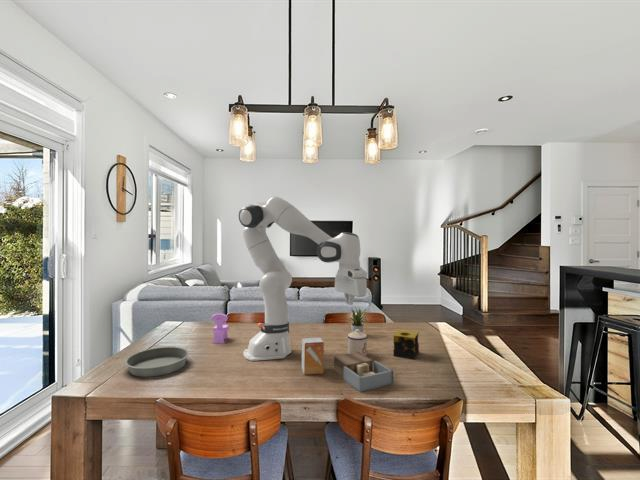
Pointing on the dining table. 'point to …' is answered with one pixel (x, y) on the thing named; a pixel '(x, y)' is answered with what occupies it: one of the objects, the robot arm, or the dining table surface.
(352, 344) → the teacup with lid
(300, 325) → the dining table surface
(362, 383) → the tray
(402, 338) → the candle
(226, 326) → the toy chair
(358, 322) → the house plant
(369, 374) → the front tile
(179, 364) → the cake pan
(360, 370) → the rear tile
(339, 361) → the brown and beige block
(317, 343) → the small box
